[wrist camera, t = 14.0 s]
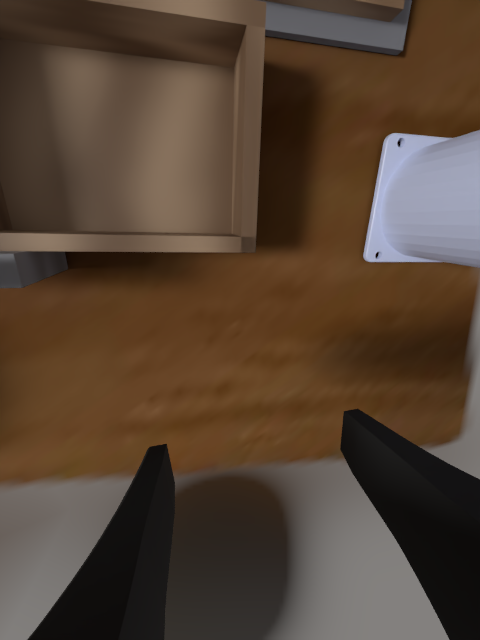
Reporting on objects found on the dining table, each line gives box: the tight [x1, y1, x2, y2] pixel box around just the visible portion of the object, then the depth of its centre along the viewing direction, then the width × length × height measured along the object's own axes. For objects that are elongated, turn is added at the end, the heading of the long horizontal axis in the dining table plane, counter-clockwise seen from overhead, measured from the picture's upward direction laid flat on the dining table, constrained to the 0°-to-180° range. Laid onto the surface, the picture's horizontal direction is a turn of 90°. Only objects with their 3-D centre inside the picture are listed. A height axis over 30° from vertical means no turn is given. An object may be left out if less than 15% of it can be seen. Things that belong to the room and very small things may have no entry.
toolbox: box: [0, 0, 266, 288], centre depth 11 cm, size 19×13×7 cm
